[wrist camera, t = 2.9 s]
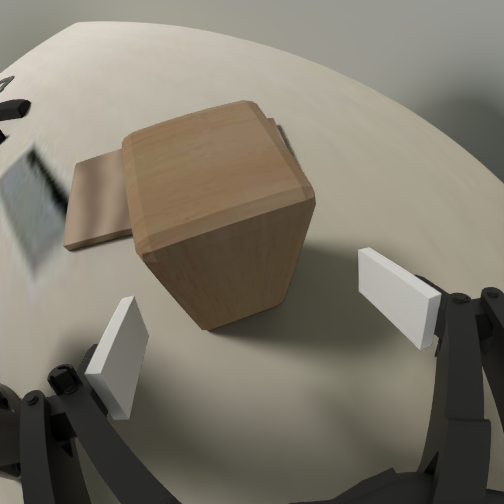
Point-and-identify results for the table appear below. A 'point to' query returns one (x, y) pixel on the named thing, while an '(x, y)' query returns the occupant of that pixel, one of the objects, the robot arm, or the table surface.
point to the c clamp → (6, 80)
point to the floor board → (100, 201)
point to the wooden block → (217, 210)
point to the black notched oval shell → (12, 111)
